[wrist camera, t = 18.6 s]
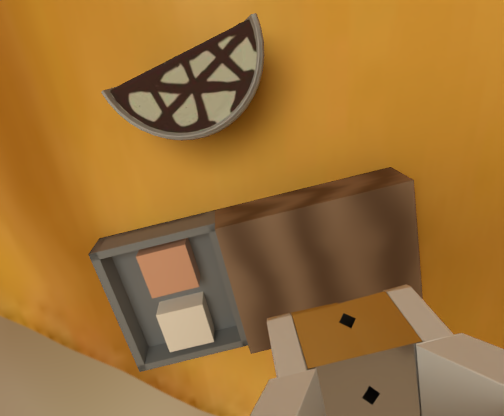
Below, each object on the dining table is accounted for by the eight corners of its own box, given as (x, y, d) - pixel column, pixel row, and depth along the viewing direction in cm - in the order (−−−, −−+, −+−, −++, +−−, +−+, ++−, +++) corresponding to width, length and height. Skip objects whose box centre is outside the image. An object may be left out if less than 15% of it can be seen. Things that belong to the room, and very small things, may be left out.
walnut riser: (390, 166, 40) (413, 180, 35) (402, 286, 45) (423, 311, 40) (215, 210, 40) (214, 229, 35) (247, 324, 45) (250, 353, 40)
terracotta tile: (135, 256, 37) (140, 245, 39) (152, 298, 39) (155, 285, 41) (185, 244, 37) (186, 234, 39) (199, 286, 39) (200, 274, 41)
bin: (215, 210, 40) (214, 223, 36) (247, 324, 45) (249, 344, 42) (99, 238, 40) (88, 254, 36) (145, 349, 45) (139, 371, 42)
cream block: (155, 315, 40) (159, 301, 42) (169, 352, 41) (172, 337, 44) (202, 304, 40) (203, 291, 42) (214, 341, 41) (214, 327, 44)
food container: (161, 147, 37) (142, 173, 28) (127, 87, 35) (94, 94, 25) (275, 90, 36) (295, 98, 27) (247, 25, 34) (259, 9, 25)
